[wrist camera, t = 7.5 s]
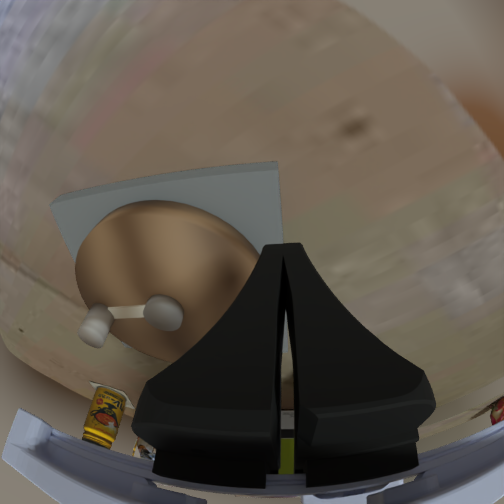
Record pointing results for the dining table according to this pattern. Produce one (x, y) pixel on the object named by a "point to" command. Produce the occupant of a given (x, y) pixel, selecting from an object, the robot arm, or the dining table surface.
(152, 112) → the dining table surface
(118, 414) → the condiment
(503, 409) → the flower
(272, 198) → the base plate
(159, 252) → the handwheel
